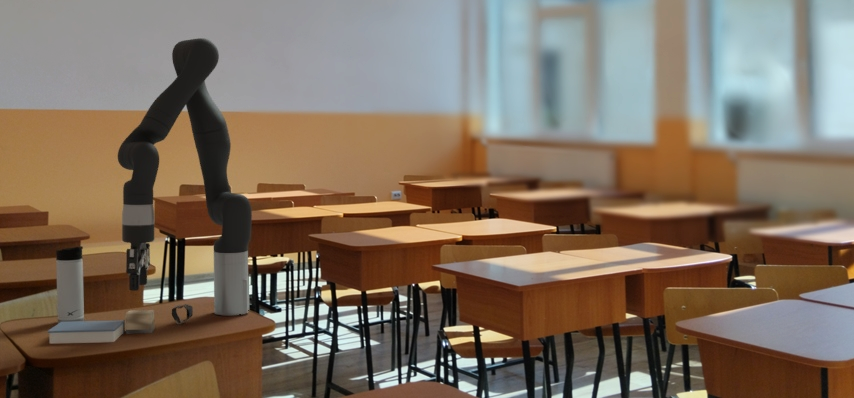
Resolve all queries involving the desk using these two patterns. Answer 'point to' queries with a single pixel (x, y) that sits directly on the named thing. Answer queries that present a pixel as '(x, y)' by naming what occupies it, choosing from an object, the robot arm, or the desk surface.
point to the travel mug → (70, 284)
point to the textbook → (86, 331)
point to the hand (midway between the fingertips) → (138, 287)
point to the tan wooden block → (140, 321)
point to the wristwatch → (189, 313)
